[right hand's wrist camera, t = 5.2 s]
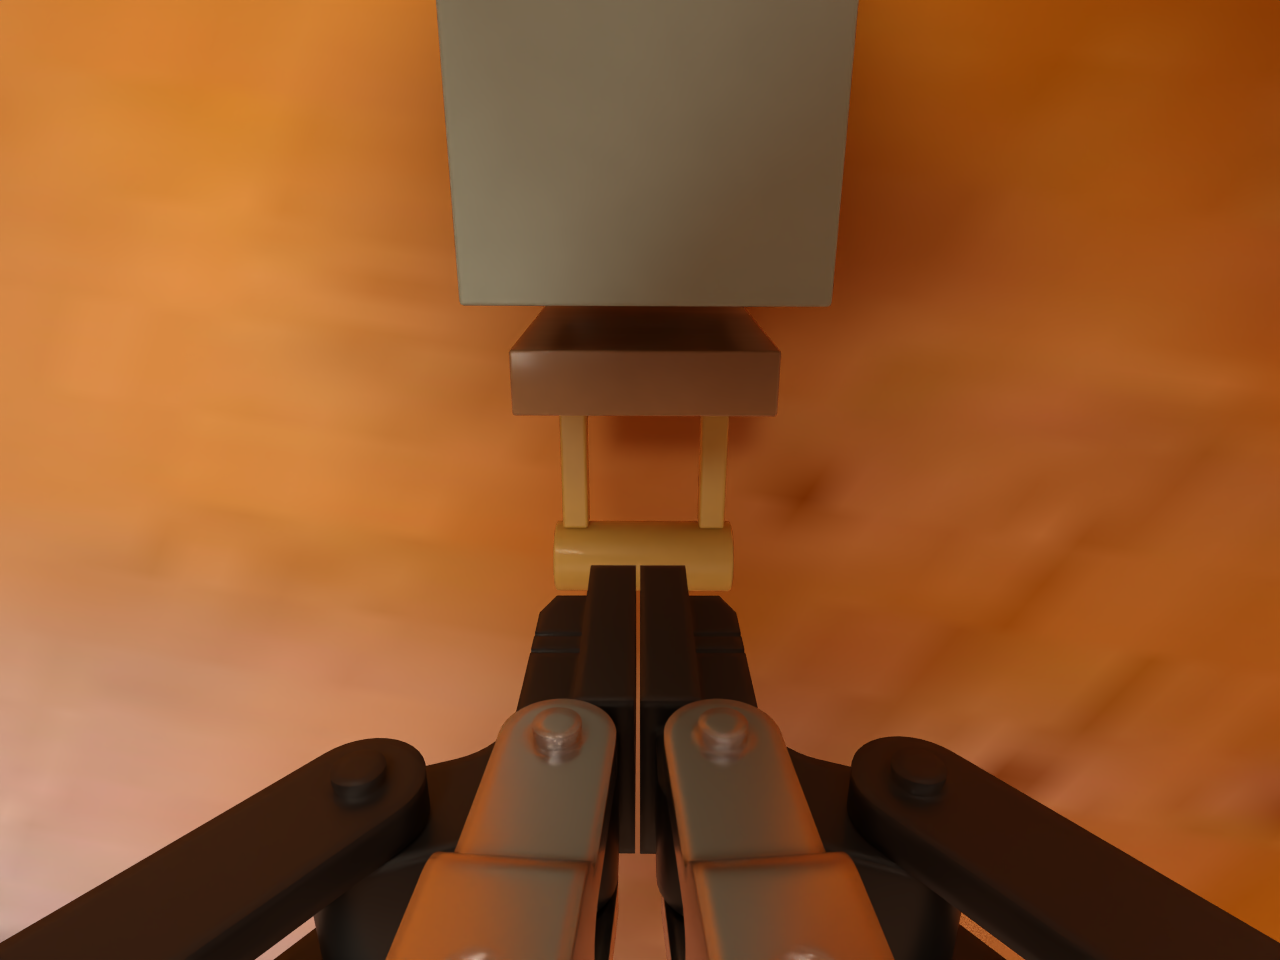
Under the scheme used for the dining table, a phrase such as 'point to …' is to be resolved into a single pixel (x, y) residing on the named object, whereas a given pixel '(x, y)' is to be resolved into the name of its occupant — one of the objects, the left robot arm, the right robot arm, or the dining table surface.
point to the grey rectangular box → (646, 149)
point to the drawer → (644, 386)
